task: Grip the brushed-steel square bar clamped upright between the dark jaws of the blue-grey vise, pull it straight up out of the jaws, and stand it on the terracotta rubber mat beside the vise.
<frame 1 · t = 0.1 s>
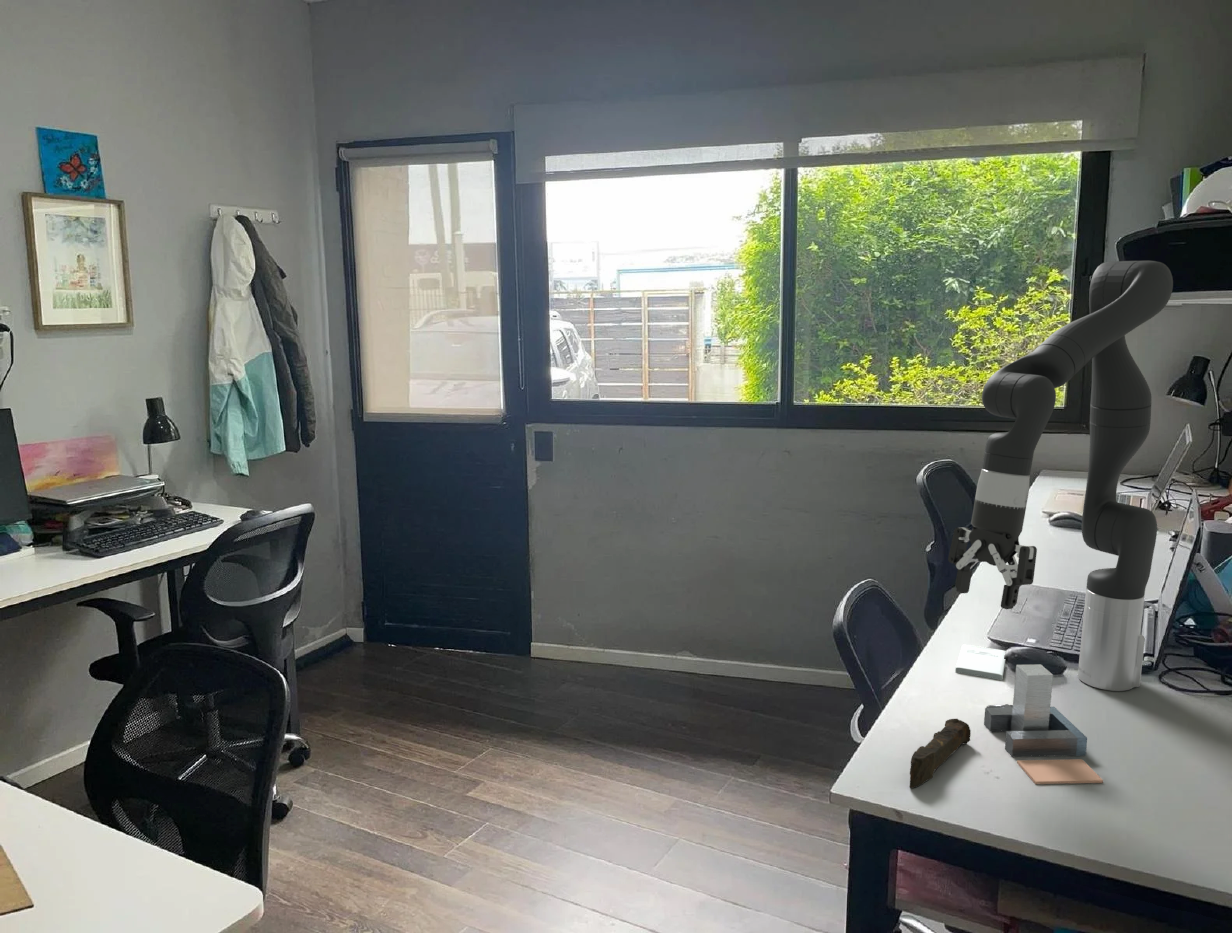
hand: (983, 600, 146), 22 cm above the table, tool pointing down, fingers open, 8 cm apart
external hard drive: (981, 667, 177), on the table
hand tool: (938, 766, 140), on the table
mat: (1059, 772, 137), on the table
steel bar: (1031, 705, 146), in the vise
vise: (1028, 739, 147), on the table
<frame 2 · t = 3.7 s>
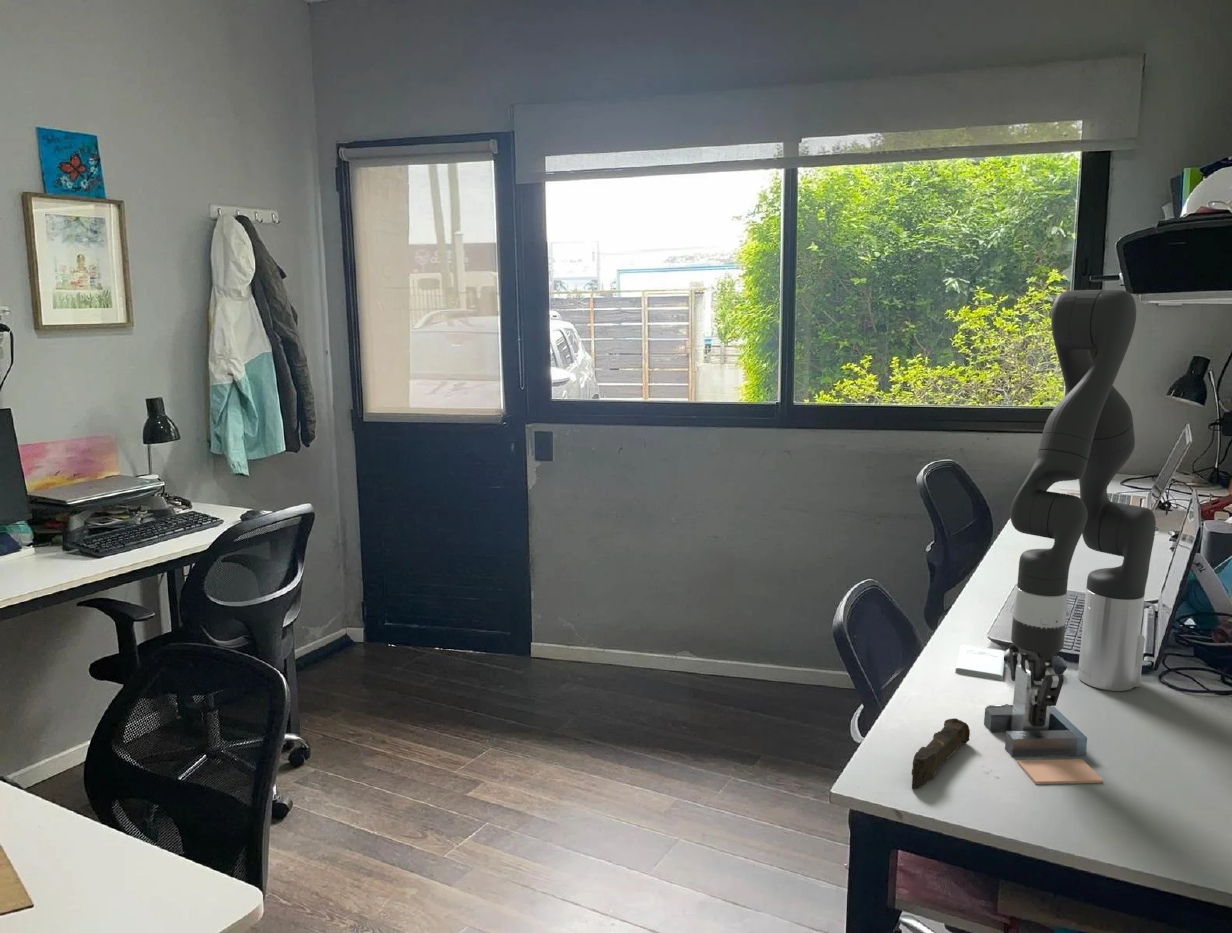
hand: (1030, 717, 147), 4 cm above the table, tool pointing down, fingers closed on steel bar, 4 cm apart
steel bar: (1031, 705, 146), in the vise, touching gripper
everything else where it was.
when the fingers open (5 cm above the table, at t = 12.3 s): steel bar drops 1 cm, resting on mat.
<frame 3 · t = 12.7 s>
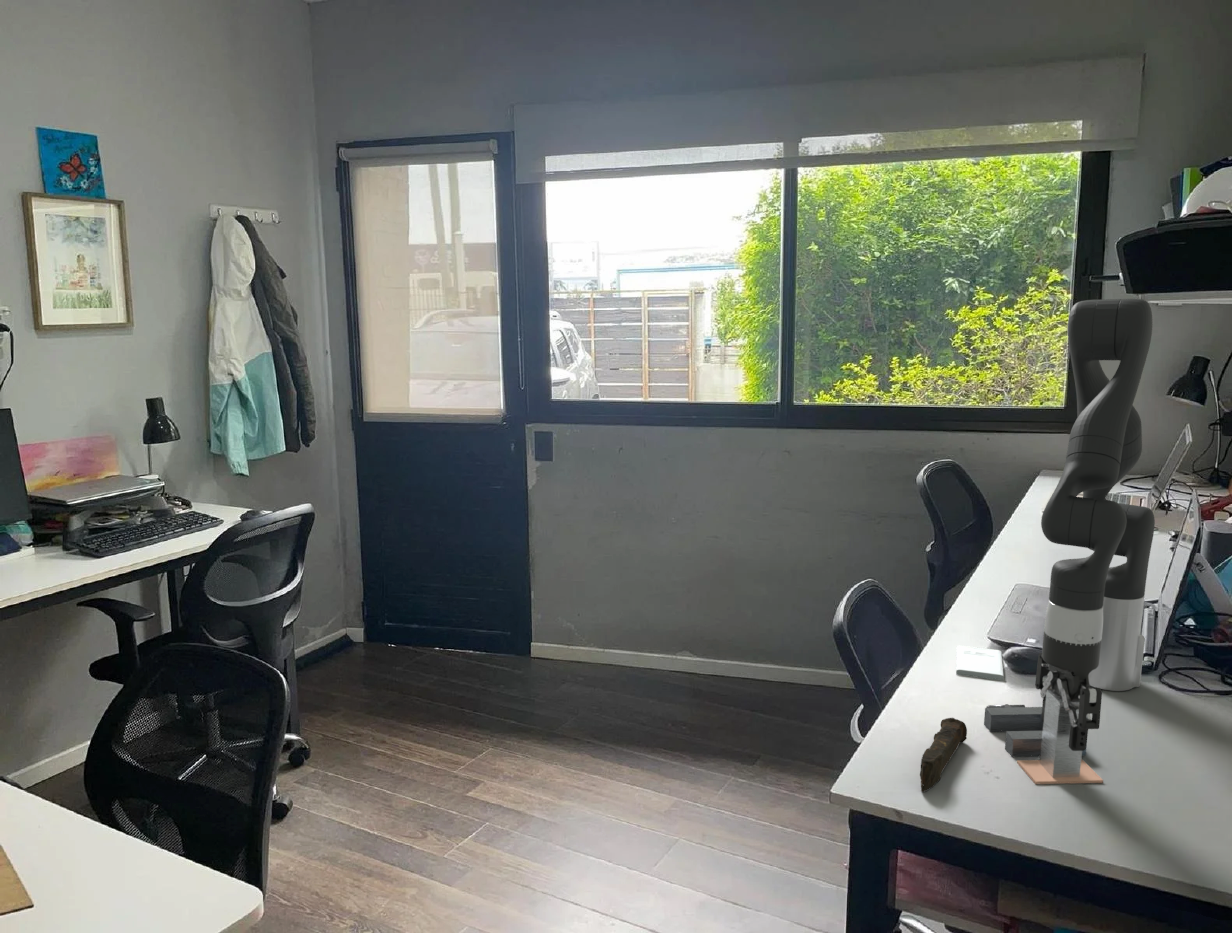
hand: (1062, 735, 136), 6 cm above the table, tool pointing down, fingers open, 8 cm apart
steel bar: (1062, 733, 136), on the mat
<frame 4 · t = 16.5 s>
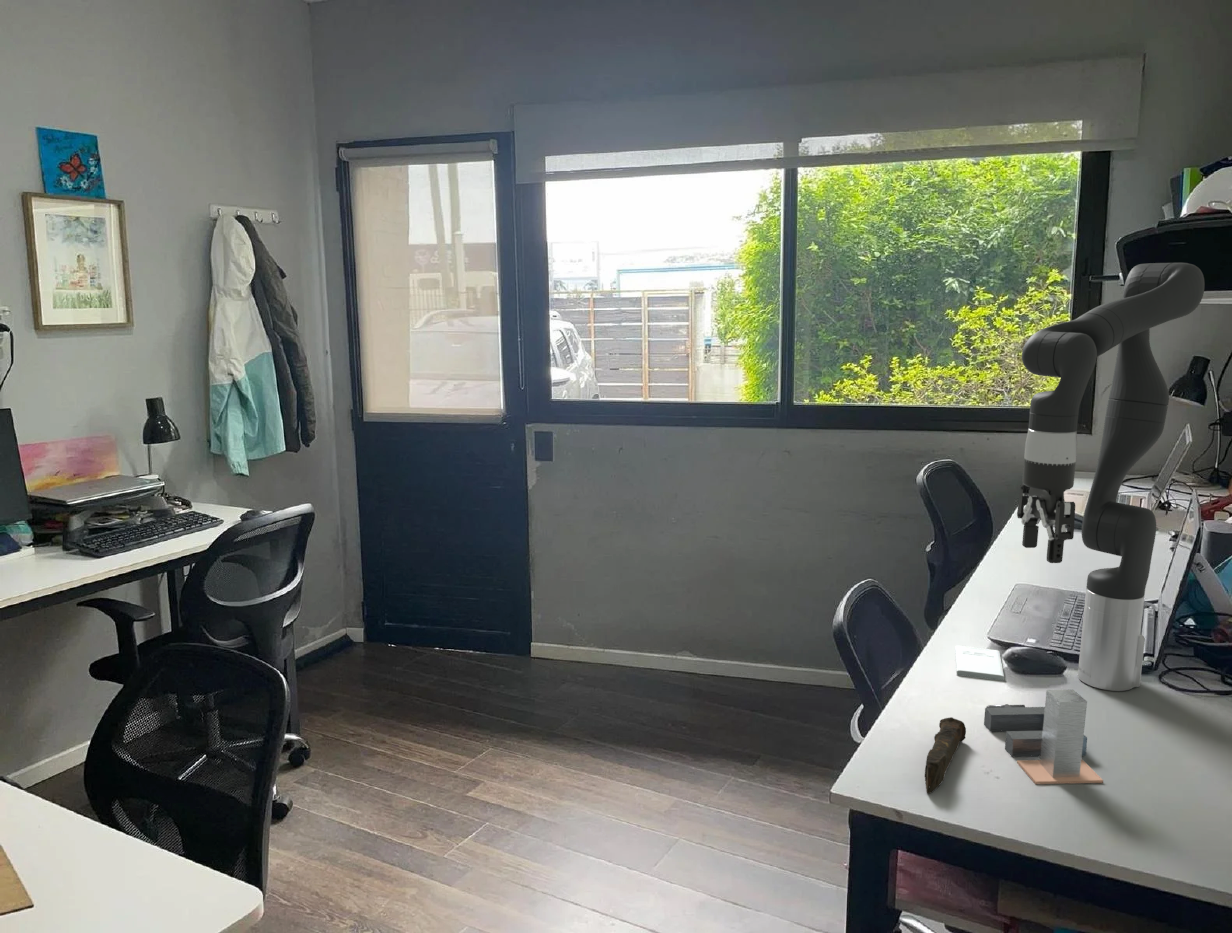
hand: (1041, 554, 150), 28 cm above the table, tool pointing down, fingers open, 8 cm apart
at the end: steel bar 0.0 cm off-centre on the mat, point 6.4 cm above the mat's base; steel bar tilted 0°; steel bar touching mat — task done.
